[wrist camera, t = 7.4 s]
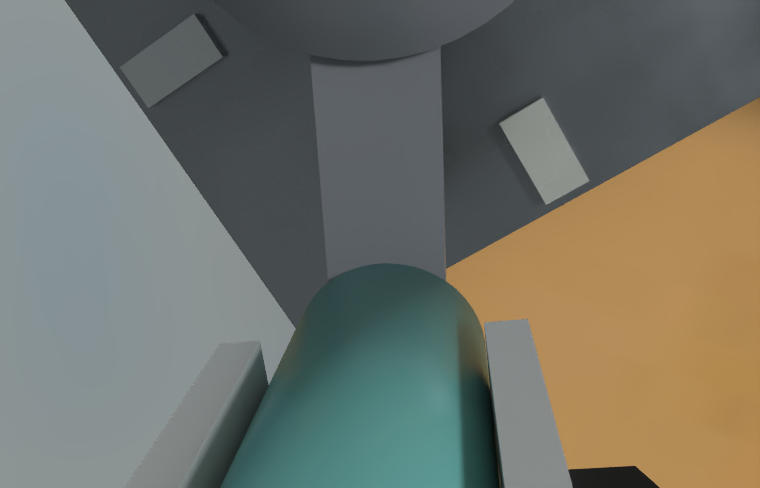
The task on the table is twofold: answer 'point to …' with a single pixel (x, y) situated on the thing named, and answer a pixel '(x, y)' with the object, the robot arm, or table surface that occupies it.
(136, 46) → the post base
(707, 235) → the table surface
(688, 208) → the table surface
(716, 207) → the table surface
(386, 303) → the crank handle
